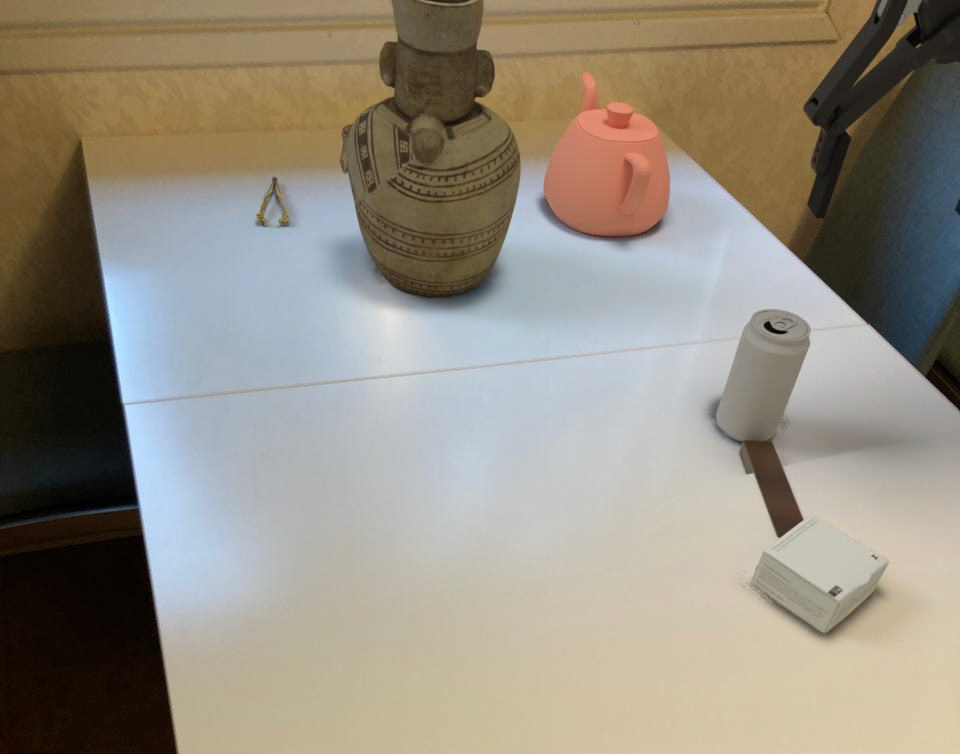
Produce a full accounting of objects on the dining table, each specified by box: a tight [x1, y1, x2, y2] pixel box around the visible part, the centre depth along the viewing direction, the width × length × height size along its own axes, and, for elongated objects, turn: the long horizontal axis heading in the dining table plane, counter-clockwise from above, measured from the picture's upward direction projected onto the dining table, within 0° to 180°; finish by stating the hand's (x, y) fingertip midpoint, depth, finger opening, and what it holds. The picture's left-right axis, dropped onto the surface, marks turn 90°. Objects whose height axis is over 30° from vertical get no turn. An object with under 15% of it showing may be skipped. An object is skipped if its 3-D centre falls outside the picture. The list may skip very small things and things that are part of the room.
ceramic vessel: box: [339, 0, 522, 299], centre depth 102 cm, size 19×21×30 cm
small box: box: [749, 513, 890, 634], centre depth 79 cm, size 8×8×5 cm
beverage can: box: [715, 308, 812, 443], centre depth 92 cm, size 6×6×12 cm
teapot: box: [542, 71, 671, 237], centre depth 123 cm, size 25×17×13 cm
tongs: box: [255, 176, 290, 227], centre depth 121 cm, size 4×13×2 cm, turn 11°
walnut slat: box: [739, 440, 804, 539], centre depth 89 cm, size 14×3×2 cm, turn 2°
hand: (890, 214), depth 81 cm, fingers open, 13 cm apart
